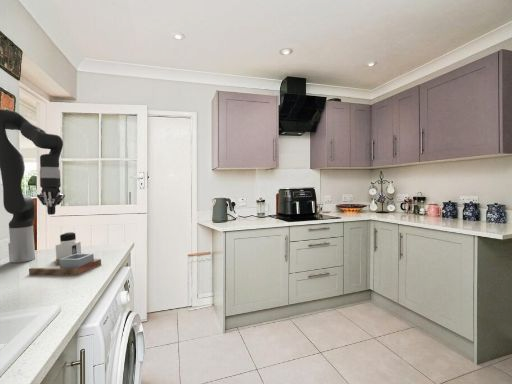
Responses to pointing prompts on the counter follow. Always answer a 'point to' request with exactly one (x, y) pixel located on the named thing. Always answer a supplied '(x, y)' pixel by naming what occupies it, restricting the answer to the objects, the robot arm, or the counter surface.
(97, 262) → the bay
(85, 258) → the box
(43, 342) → the counter surface
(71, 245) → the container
